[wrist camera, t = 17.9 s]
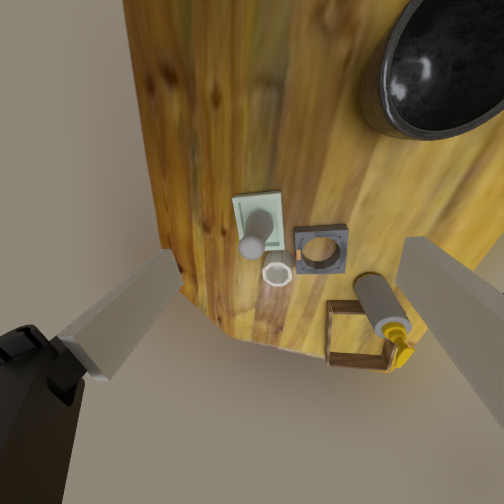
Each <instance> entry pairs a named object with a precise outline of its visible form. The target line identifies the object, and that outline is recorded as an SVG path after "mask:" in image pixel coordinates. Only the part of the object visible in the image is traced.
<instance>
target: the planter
mask: <svg viewBox="0 0 504 504" xmlns="http://www.w3.org/2000/svg"><path fill="white" fill-rule="evenodd" d="M360 104H361V109H362V112H363V115H364V117H365V119H366V121H367V122H368V124H369V125H370V126H371V127H372V128H373V129H375V130H376V131H378V132H379V133H381V134H384V135H386V136H388V137H393V138H399V139H405V140H416V141H434V140H442V139H447V138H451V137H454V136H458V135H461V134H463V133H465V132H468V131H470V130H473V129H474V128H476V127H478V126H480V125H482V124H484V123H485V122H487V121H488V120H490V119H491V118H493V117H494V116H496V115H497V114H499V113H500V112H501V111H502V110H504V0H409V1H408V2H407V4H406V5H405V6H404V7H403V9H402V10H401V11H400V13H399V14H398V15H397V17H396V18H395V19H394V21H393V22H392V23H391V25H390V26H389V28H388V29H387V30H386V32H385V33H384V35H383V36H382V38H381V39H380V41H379V43H378V44H377V46H376V47H375V49H374V51H373V53H372V55H371V57H370V59H369V61H368V63H367V66H366V68H365V71H364V74H363V78H362V82H361V88H360Z"/></svg>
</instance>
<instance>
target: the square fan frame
mask: <svg viewBox="0 0 504 504" xmlns="http://www.w3.org/2000/svg"><path fill="white" fill-rule="evenodd" d="M348 233H349V229H348V228H347V226H346V225H345V224H337V225H322V226H307V227H295V249H296V271H297V274H337V273H345V266H346V255H347V244H348ZM315 237H328V238H330V239H332V240H334V241H336V243H337V251H336V252H335V254H334V255H333V256H332V258H330V259H327V260H325V261H323V262H313V261H311V260H309V259H307V258H306V257H305V256H304V255H303V253H302V249H303V247H304V246H305V244H306V243H307V242H308V241H310V240H312V239H314V238H315Z"/></svg>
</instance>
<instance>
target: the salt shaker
mask: <svg viewBox="0 0 504 504" xmlns="http://www.w3.org/2000/svg"><path fill="white" fill-rule="evenodd" d="M273 228H274V224H273V220H272V219H271V217H270V216H269V215H268V214H266V213H264V212H255V213H253V214H251V215H250V216H249V217H248V219H247V220H246V224H245V235H244V236H243V238H242V239H241V240H240V242H239V247H238V249H239V252H240V254H241V255H242V256H243V257H244V258H246V259H248V260H255V259H258V258H260V257H261V256H262V255H263V253H264V250H265V242H266V241H267V239H268V238H269V236H270V235H271V234H272V232H273Z"/></svg>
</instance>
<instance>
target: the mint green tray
mask: <svg viewBox="0 0 504 504" xmlns="http://www.w3.org/2000/svg"><path fill="white" fill-rule="evenodd" d="M232 201H233V206H234V211H235V217H236V222H237V227H238V233H239V238H240V240H241V239H242V238H243V236H244V235H245V224H246V220H247V219H248V217H249V216H250V215H251V214H253V213H255V212H264V213H266V214H268V215H269V216H270V217H271V219H272V220H273V224H274V228H273V232H272V234H271V235H270V236H269V238H268V239H267V241H266V242H265V250H264V251H269V250H285V236H284V222H283V208H282V194H281V190H279V191H269V192H260V193H251V194H242V195H235V196H234V197H233V198H232Z"/></svg>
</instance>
